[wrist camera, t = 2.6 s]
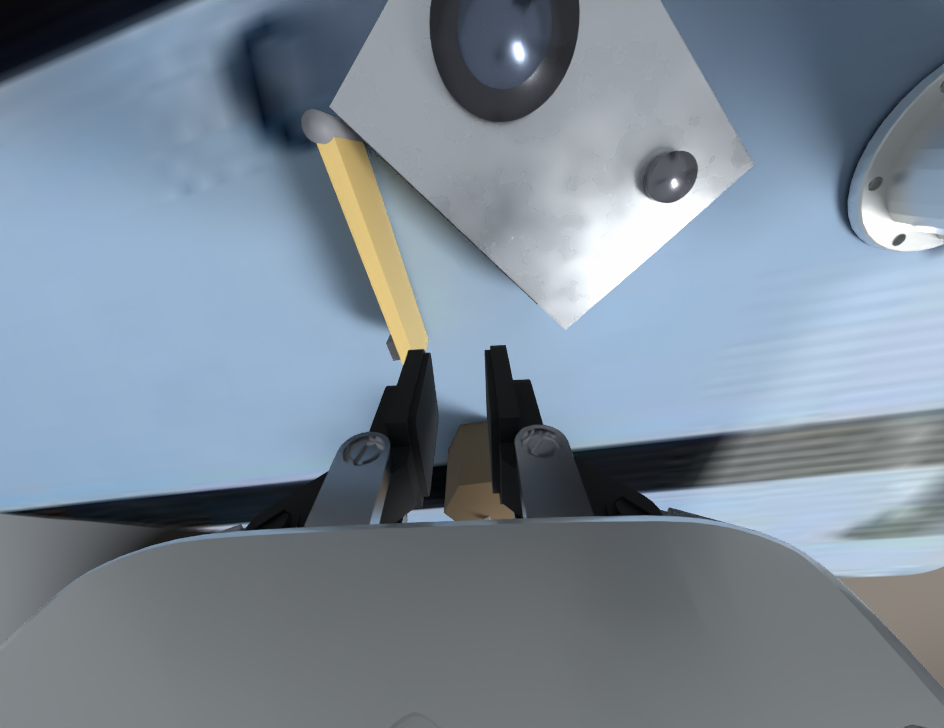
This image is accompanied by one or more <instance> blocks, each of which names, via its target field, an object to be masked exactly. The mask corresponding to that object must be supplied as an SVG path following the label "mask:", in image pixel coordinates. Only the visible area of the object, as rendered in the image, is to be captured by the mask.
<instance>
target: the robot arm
mask: <svg viewBox="0 0 944 728" xmlns="http://www.w3.org/2000/svg"><path fill="white" fill-rule="evenodd" d="M848 216H849V220H850V223H851V226H852V229H853V230H854V231H855V233H856V234H857V236H858V237H859V238H860V239H861V240H863V241H864V242H866V243H867V244H868V245H871V246H874V247H877V248H880V249H884V250H890V251H896V252H916V251H921V250H926V249H931V248H935V247H937V246H940V245H943V244H944V64H943V65H941V66H940V67H939V68H937V69H936V70H935V71H934V72H932V73H931V74H930V75H928V76H927V77H926V78H925V79H923V80H922V81H921V82H920V83H919V84H918V85H917V86H916V87H915V88H914V89H913V90H912V91H910V92H909V93H908V94H907V95H906V96H905V97H904V98H903V99H902V100H901V101H900V102H899V104H898V105H897V106H896V107H895V108H894V109H893V111H892V112H891V113H890V114H889V115H888V116H887V118H886V119H885V120H884V121H883V122H882V124H881V125H880V127H879V128H878V130H877V131H876V133H875V134H874V136H873V137H872V139H871V140H870V141H869V143H868V145H867V147H866V149H865V151H864V153H863V154H862V156H861V158H860V160H859V162H858V164H857V167H856V170H855V173H854V175H853V178H852V181H851V185H850V190H849V196H848ZM485 376H486V406H487V424H488V438H489V451H490V465H491V479H492V492H493V494H497V493H499V497H500V504H504V505H505V506H506V507H508V508H509V509H510V510H512V511H513V519H494V520H468V521H441V522H416V523H407V513H409V512H410V511H411V510H412V509H413V508H422V506H423V498H424V496H429V495H430V489H431V480H432V471H433V463H434V454H435V446H436V437H437V428H438V406H437V399H436V391H435V383H434V375H433V367H432V360H431V354H430V353H425V350H424V349H415V350H408V352H407V356H406V359H405V362H404V365H403V368H402V371H401V374H400V377H399V380H398V384H397V385H396V386H387V387H386V388H385V390H384V393H383V396H382V398H381V401H380V404H379V407H378V409H377V412H376V415H375V417H374V420H373V423H372V426H371V428H370V431H369V432H366V433H361V434H358V435H355V436H353V437H351V438H350V439H348V440H347V441H346V442H344V443H343V444H342V445H341V447H340V448H339V450H338V451H337V454H336V456H335V458H334V460H333V463H332V465H331V467H330V469H329V471H328V472H326V473H325V474H323V475H321V476H320V477H318V478H316V479H315V480H313V481H311V482H310V483H308V484H307V485H305V486H303V487H302V488H300V489H298V490H297V491H295V492H294V493H292V494H290V495H289V496H287V497H285V498H284V499H282V500H281V501H279V502H277V503H276V504H274V505H272V506H271V507H269V508H268V509H266V510H264V511H263V512H262V513H260V514H259V515H258V516H256V517H255V518H254V519H253V520H252V521H251V522H250V524H249V525H248V526H247V527H246V528H243V527H242V525H241V524H240V525H237V526H234V527H232V528H229V529H226V530H223V531H220V532H217V533H214V534H205V535H199V536H193V537H187V538H181V539H177V540H173V541H169V542H165V543H161V544H156V545H152V546H149V547H146V548H143V549H141V550H138V551H135V552H132V553H129V554H126V555H124V556H121V557H119V558H116V559H114V560H112V561H109V562H107V563H105V564H103V565H101V566H99V567H97V568H95V569H93V570H91V571H89V572H87V573H86V574H84V575H82V576H81V577H79V578H78V579H76V580H75V581H73V582H72V583H70V584H69V585H68V586H67V587H65V588H64V589H63V590H61V591H60V592H59V593H58V594H57V595H55V596H54V597H53V598H52V599H50V600H49V601H48V602H47V603H46V604H45V605H43V606H42V607H41V608H40V609H39V610H38V611H37V612H36V613H34V614H33V615H32V616H31V617H30V618H29V619H28V620H27V621H26V622H25V623H24V624H23V625H22V626H21V627H20V628H19V629H17V631H15V632H14V633H13V634H12V635H11V636H10V637H9V638H8V639H7V640H6V641H5V642H4V643H3V644H2V645H1V646H0V728H944V688H943V687H942V686H941V685H940V683H939V682H938V681H937V680H936V679H935V678H934V677H933V676H932V675H931V674H930V673H929V671H928V670H927V669H926V668H925V667H924V666H923V665H922V664H921V663H920V662H919V661H918V659H917V658H916V657H915V656H914V655H913V654H912V653H911V652H910V651H909V650H908V648H907V647H906V646H905V645H904V644H903V643H902V642H901V641H900V640H899V639H898V638H897V637H896V636H895V635H894V634H893V633H892V632H891V631H890V630H889V629H888V627H887V626H886V625H885V624H884V623H883V622H882V621H881V620H880V619H879V618H878V617H877V616H876V615H875V614H874V613H873V612H872V611H871V610H870V609H869V608H868V607H867V606H866V605H865V604H864V603H863V602H862V601H861V600H860V599H859V598H858V597H857V596H856V595H855V594H853V592H852V591H851V590H850V589H848V587H847V586H845V585H844V584H843V583H842V582H841V581H840V580H839V579H838V578H837V577H835V576H834V575H833V574H832V573H831V572H830V571H828V570H827V569H826V568H825V567H823V566H822V565H821V564H820V563H819V562H817V561H816V560H814V559H813V558H812V557H810V556H809V555H807V554H806V553H804V552H803V551H801V550H799V549H797V548H796V547H794V546H792V545H790V544H788V543H786V542H784V541H781V540H779V539H777V538H774V537H772V536H769V535H766V534H763V533H761V532H758V531H755V530H751V529H747V528H743V527H740V526H736V525H733V524H729V523H725V522H721V521H717V520H714V519H710V518H706V517H703V516H699V515H695V514H691V513H688V512H684V511H680V510H677V509H673V508H669V509H668V511H667V512H666V511H663V510H659V508H658V507H657V506H656V505H655V504H654V503H653V502H652V501H651V500H649V499H648V498H647V497H645V496H644V495H642V494H640V493H638V492H637V491H635V490H633V489H631V488H629V487H628V486H626V485H624V484H622V483H620V482H619V481H617V480H615V479H613V478H611V477H610V476H608V475H606V474H604V473H602V472H601V471H599V470H597V469H595V468H593V467H592V466H590V465H588V464H586V463H584V462H583V461H581V460H579V459H577V458H575V457H574V456H573V454H572V451H571V448H570V445H569V443H568V440H567V439H566V437H565V435H564V434H562V433H561V432H560V431H559V430H557V429H555V428H553V427H550V426H547V425H543V423H542V419H541V416H540V412H539V409H538V405H537V402H536V398H535V395H534V391H533V388H532V384H531V381H530V380H529V379H527V380H513V378H512V374H511V369H510V364H509V359H508V354H507V349H506V345H498V346H490V350H485Z"/></svg>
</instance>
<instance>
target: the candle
mask: <svg viewBox="0 0 944 728" xmlns="http://www.w3.org/2000/svg"><path fill="white" fill-rule="evenodd" d="M444 513H445V514H446V515H448V516H449V517H450V518H452V519H453V520H454V521H468V520H494V519H513V511H512V510H510V509H509V508H508V507H506V506H505V505H504V504H500V497H499V493H497V494H493V492H492V479H491V465H490V451H489V438H488V424H487V422H480V423H472V424H464V425H460V427H459V429H458V431H457V433H456V435H455V437H454V440H453V442H452V444H451V446H450V448H449V450H448V463H447V477H446V492H445V506H444Z"/></svg>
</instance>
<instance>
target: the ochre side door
mask: <svg viewBox="0 0 944 728" xmlns="http://www.w3.org/2000/svg"><path fill="white" fill-rule="evenodd" d="M341 119H342V118H339V117H336V116H333V115H331V114H328V113H325V112H322V111H319V110H316V109H309V110H307V111H305V112H304V114H303V116H302V119H301V126H302V129H303V132H304V134H305V135H306V137H307V138H308V139H309V140H311V141H312V142H315V143H317V146H318V149H319V151H320V154H321V156H322V159H323V161H324V164H325V167H326V169H327V172H328V174H329V177H330V179H331V182H332V184H333V187H334V190H335V192H336V195H337V197H338V200H339V202H340V205H341V208H342V210H343V213H344V215H345V218H346V220H347V223H348V226H349V228H350V231H351V233H352V236H353V238H354V241H355V244H356V246H357V249H358V251H359V254H360V256H361V259H362V261H363V264H364V267H365V269H366V272H367V274H368V277H369V279H370V282H371V285H372V287H373V290H374V292H375V295H376V297H377V300H378V303H379V305H380V308H381V310H382V313H383V315H384V318H385V320H386V323H387V326H388V328H389V331H390V333H391V334H390V336H389V338H388V340H387V343H386V344H387V346H388V349H389V351H390V354H391V356H392V359H393V361H395V360H400V359H401V362H402V364H403V365H404V362H405V359H406V356H407V352H408V350H415V349H424V350H425V353H426V348H427V344H428V336H427V333H426V330H425V327H424V324H423V321H422V318H421V315H420V312H419V309H418V306H417V303H416V300H415V297H414V294H413V291H412V288H411V285H410V282H409V279H408V276H407V273H406V269H405V266H404V263H403V260H402V257H401V254H400V251H399V248H398V245H397V242H396V239H395V236H394V233H393V230H392V227H391V224H390V221H389V218H388V215H387V212H386V209H385V206H384V203H383V200H382V196H381V193H380V190H379V187H378V184H377V181H376V178H375V175H374V172H373V169H372V166H371V163H370V160H369V157H368V154H367V151H366V148H365V145H364V142H365V141H363V140H362V139H361V138H360V137H359V136H358V135H357V134H356V133H355V132H354V131H353V130H352V129H351V128H350V127H349V126H348V125H347V124H345V123H344V122H343V121H342V120H341Z"/></svg>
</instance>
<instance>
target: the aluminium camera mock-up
mask: <svg viewBox="0 0 944 728" xmlns="http://www.w3.org/2000/svg"><path fill="white" fill-rule="evenodd" d="M330 108H331V109H332V110H333V111H334V112H335V113H336V114H338V115H339V116H340V117H341V118H342V119H341V120H342V121H343V122H344V123H345V124H347V125H348V126H349V127H350V128H351V129H352V130H353V131H354V132H355V133H356V134H357V135H358V136H359V137H360V138H361V139H362V140H363V141H365V142H366V143H367V144H368V145H369V146H370V147H371V148H372V149H373V150H374V151H375V152H376V153H377V154H378V155H379V156H380V157H381V158H383V159H384V160H385V161H386V162H387V163H388V164H389V165H390V166H391V167H392V168H393V169H394V170H395V171H396V172H397V173H398V174H400V175H401V176H402V177H403V178H404V179H405V180H406V181H407V182H408V183H409V184H410V185H411V186H412V187H413V188H414V189H415V190H416V191H418V192H419V193H420V194H421V195H422V196H423V197H424V198H425V199H426V200H427V201H428V202H429V203H430V204H431V205H432V206H433V207H434V208H436V209H437V210H438V211H439V212H440V213H441V214H442V215H443V216H444V217H445V218H446V219H447V220H448V221H449V222H450V223H451V224H453V225H454V226H455V227H456V228H457V229H458V230H459V231H460V232H461V233H462V234H463V235H464V236H465V237H466V238H467V239H468V240H469V241H471V242H472V243H473V244H474V245H475V246H476V247H477V248H478V249H479V250H480V251H481V252H482V253H483V254H484V255H485V256H486V257H487V258H489V259H490V260H491V261H492V262H493V263H494V264H495V265H496V266H497V267H498V268H499V269H500V270H501V271H502V272H503V273H504V274H506V275H507V276H508V277H509V278H510V279H511V280H512V281H513V282H514V283H515V284H516V285H517V286H518V287H519V288H520V289H521V290H522V291H524V292H525V293H526V294H527V295H528V296H529V297H530V298H531V299H532V300H533V301H534V302H535V303H536V304H539V305H540V306H541V307H542V308H543V309H544V310H545V311H546V312H547V313H548V314H549V315H550V316H551V317H552V318H553V319H554V320H555V321H556V322H558V323H559V324H560V325H561V326H562V327H563V328H564V329H565V330H566V329H567V328H568V327H569V326H571V325H572V324H573V323H574V322H575V321H576V320H577V319H579V318H580V317H581V316H582V315H583V314H584V313H585V312H587V311H588V310H589V309H590V308H591V307H592V306H593V305H595V304H596V303H597V302H598V301H599V300H600V299H602V298H603V297H604V296H605V295H606V294H607V293H608V292H610V291H611V290H612V289H613V288H614V287H615V286H616V285H618V284H619V283H620V282H621V281H622V280H623V279H624V278H626V277H627V276H628V275H629V274H630V273H631V272H632V271H634V270H635V269H636V268H637V267H638V266H639V265H640V264H642V263H643V262H644V261H645V260H646V259H647V258H648V257H650V256H651V255H652V254H653V253H654V252H655V251H656V250H658V249H659V248H660V247H661V246H662V245H663V244H665V243H666V242H667V241H668V240H669V239H670V238H671V237H673V236H674V235H675V234H676V233H677V232H678V231H679V230H681V229H682V228H683V227H684V226H685V225H686V224H687V223H689V222H690V221H691V220H692V219H693V218H694V217H695V216H697V215H698V214H699V213H700V212H701V211H702V210H703V209H705V208H706V207H707V206H708V205H709V204H710V203H711V202H713V201H714V200H715V199H716V198H717V197H718V196H719V195H721V194H722V193H723V192H724V191H725V190H726V189H728V188H729V187H730V186H731V185H732V184H733V183H734V182H736V181H737V180H738V179H739V178H740V177H741V176H742V175H744V174H745V173H746V172H747V171H748V170H749V169H750V168H752V167H753V166H754V163H753V161H752V160H751V158H750V156H749V154H748V153H747V151H746V149H745V147H744V146H743V144H742V142H741V140H740V139H739V137H738V135H737V133H736V132H735V130H734V128H733V126H732V125H731V123H730V121H729V119H728V118H727V116H726V114H725V112H724V111H723V109H722V107H721V105H720V104H719V102H718V100H717V98H716V97H715V95H714V93H713V91H712V90H711V88H710V86H709V84H708V83H707V81H706V79H705V77H704V76H703V74H702V72H701V71H700V69H699V67H698V65H697V64H696V62H695V60H694V58H693V57H692V55H691V53H690V51H689V50H688V48H687V46H686V44H685V43H684V41H683V39H682V37H681V36H680V34H679V32H678V30H677V29H676V27H675V25H674V23H673V22H672V20H671V18H670V16H669V15H668V13H667V11H666V9H665V8H664V6H663V4H662V2H661V1H660V0H388V2H387V4H386V5H385V7H384V9H383V11H382V13H381V14H380V16H379V18H378V20H377V22H376V23H375V25H374V27H373V29H372V31H371V33H370V34H369V36H368V38H367V40H366V42H365V43H364V45H363V47H362V49H361V51H360V52H359V54H358V56H357V58H356V60H355V61H354V63H353V65H352V67H351V69H350V70H349V72H348V74H347V76H346V78H345V79H344V81H343V83H342V85H341V87H340V89H339V90H338V92H337V94H336V96H335V98H334V99H333V101H332V103H331V105H330Z"/></svg>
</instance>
